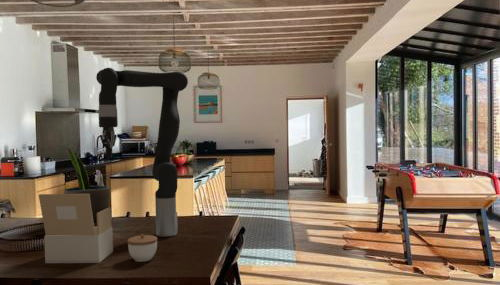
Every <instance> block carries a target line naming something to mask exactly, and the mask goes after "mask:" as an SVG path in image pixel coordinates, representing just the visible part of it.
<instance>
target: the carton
mask: <svg viewBox="0 0 500 285" xmlns="http://www.w3.org/2000/svg"><path fill="white" fill-rule="evenodd" d="M94 229H95V235H57V236H46V234H45V235H44V240H43V241H44V260H45V261H44V263H45V264H94V263H95V264H98V263H101V262H102V261H103V260H104V259H106V258H107V257H108V256H110V255H111V254H112V253H113V252H114V238H113V237H114V236H113V232H114V231H113V226H112V206H109V207H108V208H106V209H104V210H102V211H100V212H98V213H97V226H94Z"/></svg>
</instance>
